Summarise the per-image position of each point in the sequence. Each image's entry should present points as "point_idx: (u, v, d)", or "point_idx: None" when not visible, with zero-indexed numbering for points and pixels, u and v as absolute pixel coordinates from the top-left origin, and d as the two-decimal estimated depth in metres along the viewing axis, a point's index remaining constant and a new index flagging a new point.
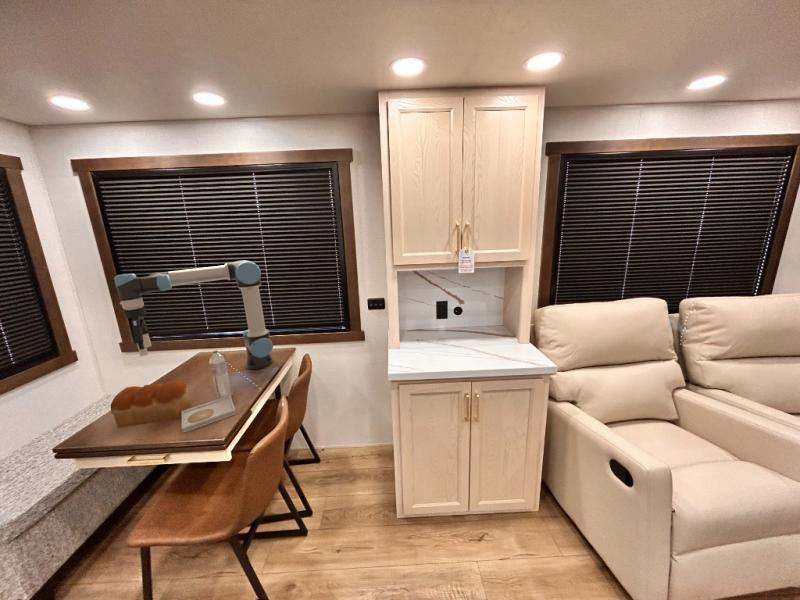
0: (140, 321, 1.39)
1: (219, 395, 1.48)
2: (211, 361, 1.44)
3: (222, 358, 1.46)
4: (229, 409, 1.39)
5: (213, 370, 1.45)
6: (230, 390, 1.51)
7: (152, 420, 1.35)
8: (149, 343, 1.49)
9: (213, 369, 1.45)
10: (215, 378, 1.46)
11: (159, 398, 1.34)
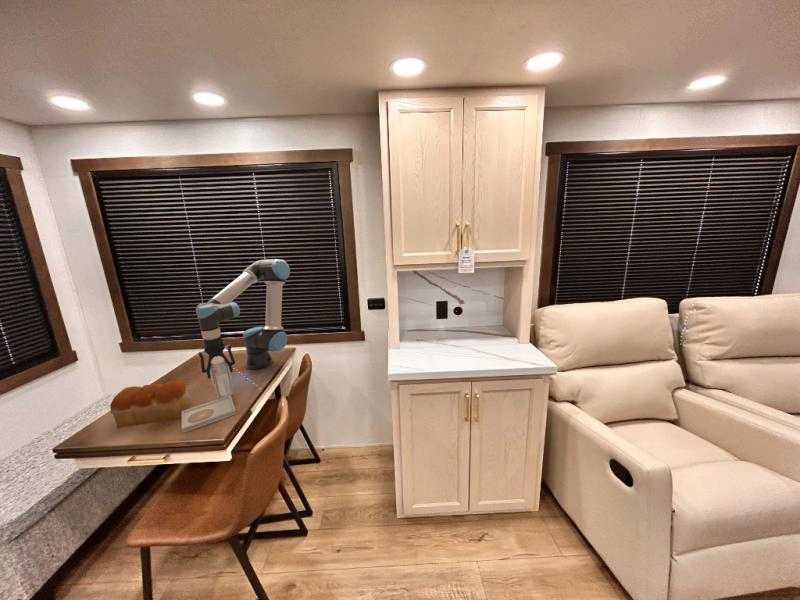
0: (210, 352, 1.44)
1: (219, 395, 1.48)
2: (211, 361, 1.44)
3: (222, 358, 1.46)
4: (229, 409, 1.39)
5: (213, 370, 1.45)
6: (230, 390, 1.51)
7: (152, 420, 1.35)
8: (229, 376, 1.51)
9: (213, 369, 1.45)
10: (215, 378, 1.46)
11: (159, 398, 1.34)
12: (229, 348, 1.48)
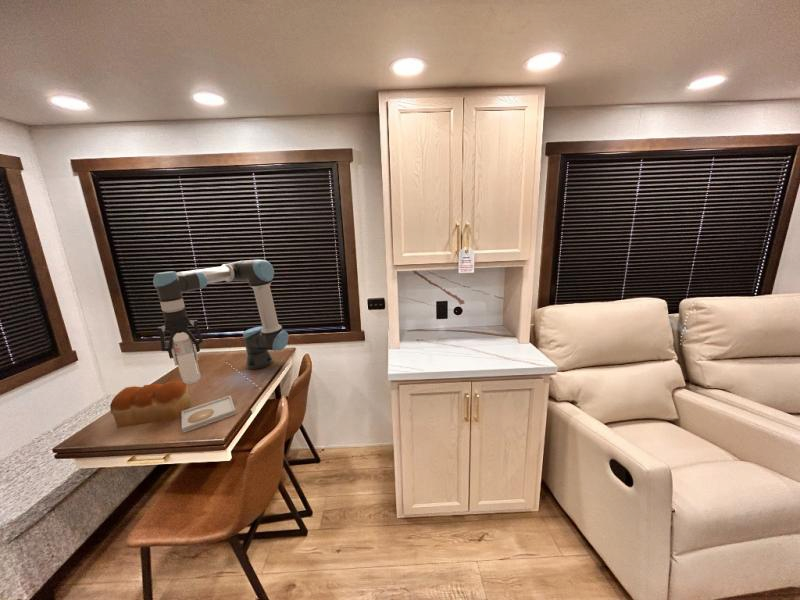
0: (171, 327, 1.23)
1: (183, 378, 1.27)
2: (173, 338, 1.23)
3: (186, 335, 1.25)
4: (229, 409, 1.39)
5: (175, 348, 1.24)
6: (197, 372, 1.30)
7: (152, 420, 1.35)
8: None
9: (175, 347, 1.24)
10: (178, 358, 1.25)
11: (159, 398, 1.34)
12: (195, 323, 1.27)
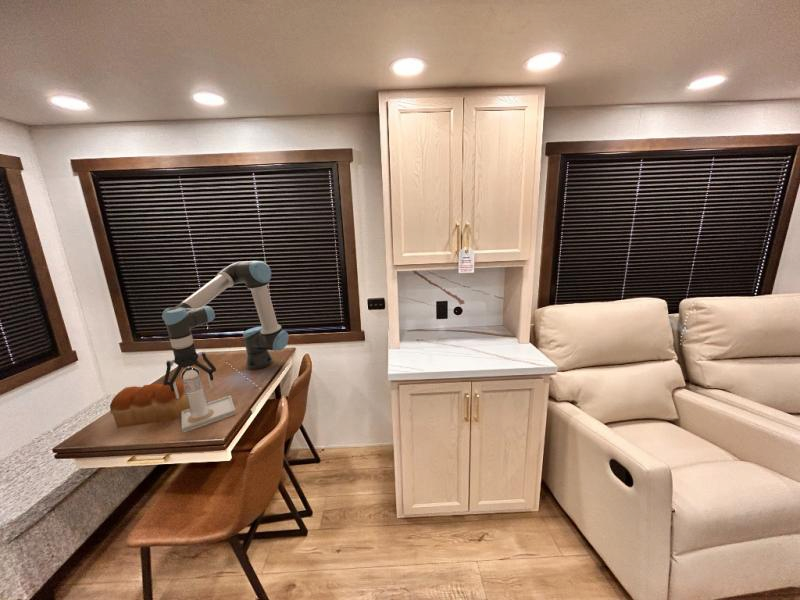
0: (180, 362, 1.26)
1: (193, 414, 1.31)
2: (183, 376, 1.27)
3: (196, 372, 1.29)
4: (229, 409, 1.39)
5: (185, 386, 1.28)
6: (205, 408, 1.34)
7: (152, 420, 1.35)
8: None
9: (185, 385, 1.28)
10: (188, 395, 1.29)
11: (159, 398, 1.34)
12: (203, 356, 1.31)
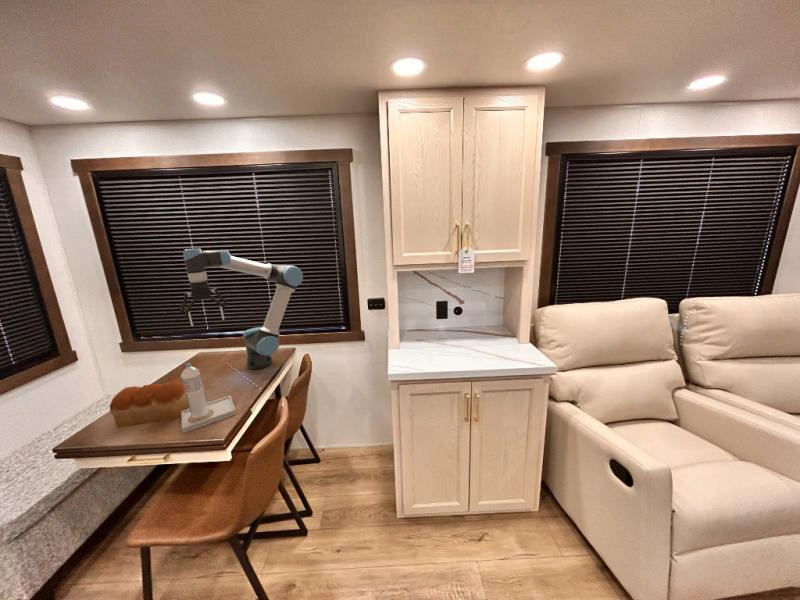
0: (196, 294, 1.47)
1: (193, 414, 1.31)
2: (183, 376, 1.27)
3: (196, 372, 1.29)
4: (229, 409, 1.39)
5: (185, 386, 1.28)
6: (206, 408, 1.34)
7: (151, 420, 1.35)
8: (222, 316, 1.55)
9: (185, 385, 1.28)
10: (188, 395, 1.29)
11: (159, 398, 1.34)
12: (216, 291, 1.51)
